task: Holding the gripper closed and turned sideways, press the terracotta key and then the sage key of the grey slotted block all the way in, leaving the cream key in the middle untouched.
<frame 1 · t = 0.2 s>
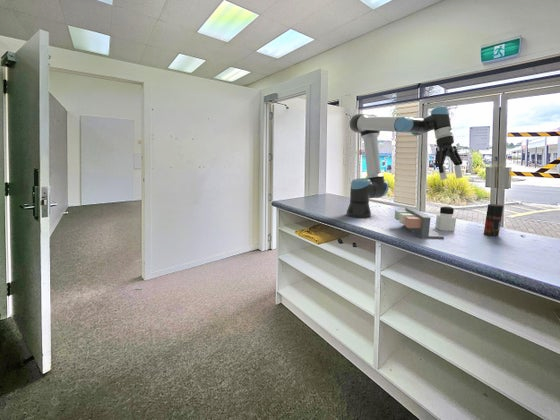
hand: (451, 178, 144), 27 cm above the countertop, tool tilted 15°, fingers open, 13 cm apart
grey slotted block: (415, 231, 146), on the countertop
terracotta key: (416, 222, 138), point 6 cm above the countertop, slide at 0.0 cm
sage key: (405, 215, 153), point 6 cm above the countertop, slide at 0.0 cm
medicine bottle: (444, 229, 151), on the countertop
deodorant: (490, 235, 141), on the countertop
cream key: (410, 218, 145), point 6 cm above the countertop, slide at 0.0 cm
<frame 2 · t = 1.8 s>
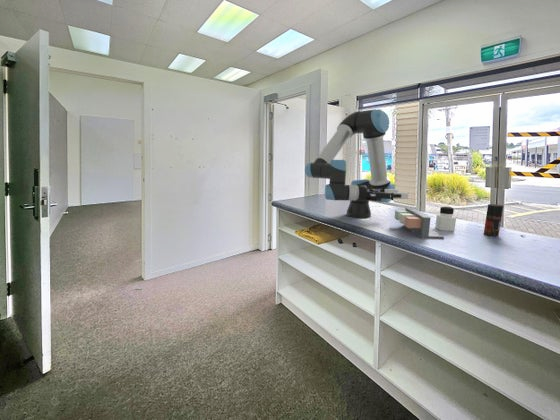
hand: (402, 194, 136), 20 cm above the countertop, tool horizontal, fingers open, 13 cm apart
nothing on the countertop moved.
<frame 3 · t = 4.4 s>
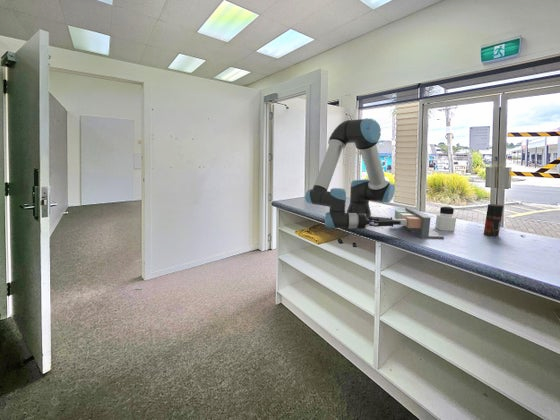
hand: (406, 222, 138), 6 cm above the countertop, tool horizontal, fingers closed
terracotta key: (417, 222, 138), point 6 cm above the countertop, slide at 0.2 cm, touching gripper
everything else where it was.
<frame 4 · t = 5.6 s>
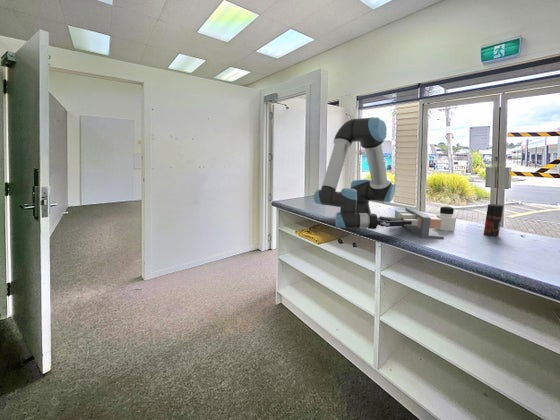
hand: (417, 222, 138), 6 cm above the countertop, tool horizontal, fingers closed
terracotta key: (428, 222, 137), point 6 cm above the countertop, slide at 5.5 cm, touching gripper
everything else where it was.
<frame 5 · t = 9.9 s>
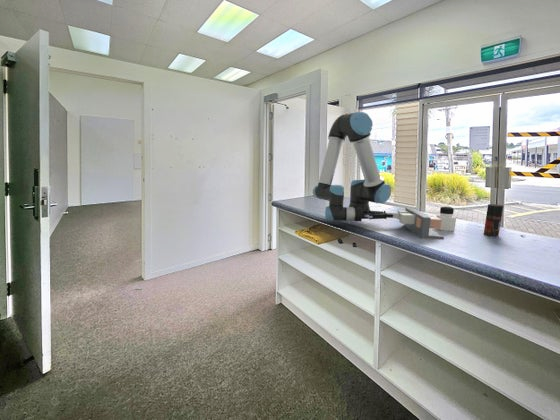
hand: (398, 215, 153), 6 cm above the countertop, tool horizontal, fingers closed
terracotta key: (428, 222, 137), point 6 cm above the countertop, slide at 5.5 cm
sage key: (407, 215, 153), point 6 cm above the countertop, slide at 1.4 cm, touching gripper
everything else where it was.
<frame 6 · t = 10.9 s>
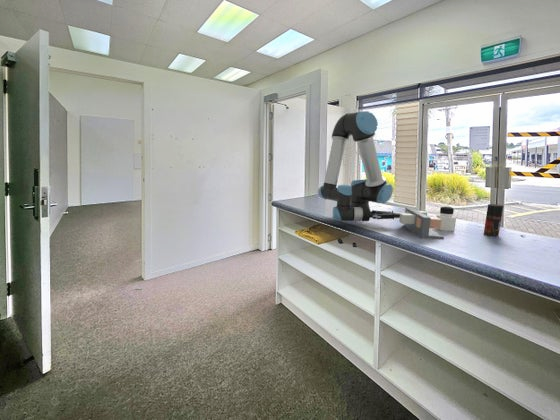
hand: (406, 215, 153), 6 cm above the countertop, tool horizontal, fingers closed
sage key: (415, 215, 153), point 6 cm above the countertop, slide at 5.5 cm, touching gripper
everything else where it was.
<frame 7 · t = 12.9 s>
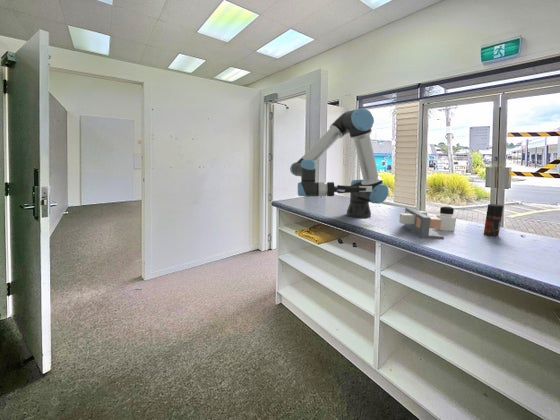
hand: (371, 188, 150), 21 cm above the countertop, tool horizontal, fingers closed
sage key: (415, 215, 153), point 6 cm above the countertop, slide at 5.5 cm
everything else where it was.
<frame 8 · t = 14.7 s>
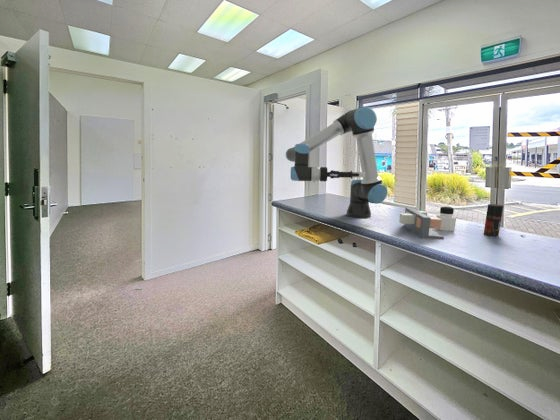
hand: (364, 174, 150), 28 cm above the countertop, tool horizontal, fingers closed
nothing on the countertop moved.
at the end: terracotta key slide at 5.5 cm; sage key slide at 5.5 cm; cream key slide at 0.0 cm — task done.
